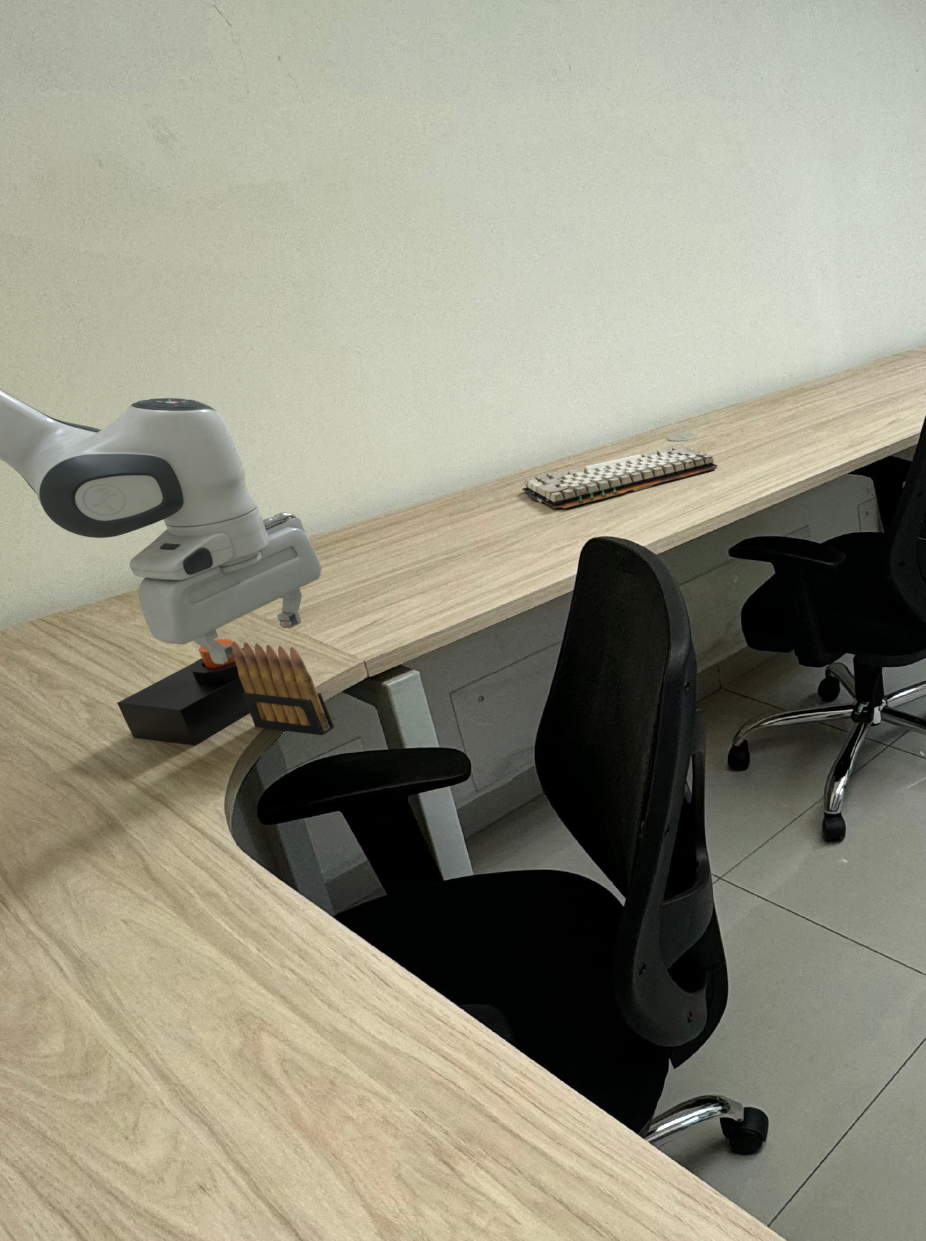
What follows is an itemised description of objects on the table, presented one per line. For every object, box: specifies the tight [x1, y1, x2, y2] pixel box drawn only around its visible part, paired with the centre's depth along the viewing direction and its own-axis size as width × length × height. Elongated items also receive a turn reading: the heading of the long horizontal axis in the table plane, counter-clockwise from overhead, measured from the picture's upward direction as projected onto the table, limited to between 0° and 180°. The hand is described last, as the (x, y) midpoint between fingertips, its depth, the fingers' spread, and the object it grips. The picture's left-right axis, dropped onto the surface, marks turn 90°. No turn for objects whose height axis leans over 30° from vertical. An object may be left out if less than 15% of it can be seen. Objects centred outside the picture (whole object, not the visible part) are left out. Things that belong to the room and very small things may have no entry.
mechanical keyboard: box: [521, 444, 718, 509], centre depth 212 cm, size 38×19×3 cm, turn 133°
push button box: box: [116, 647, 250, 747], centre depth 127 cm, size 10×12×7 cm
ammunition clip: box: [232, 641, 335, 736], centre depth 122 cm, size 11×2×12 cm, turn 76°
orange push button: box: [198, 638, 235, 668], centre depth 127 cm, size 4×4×3 cm
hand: (259, 642), depth 120 cm, fingers open, 8 cm apart
